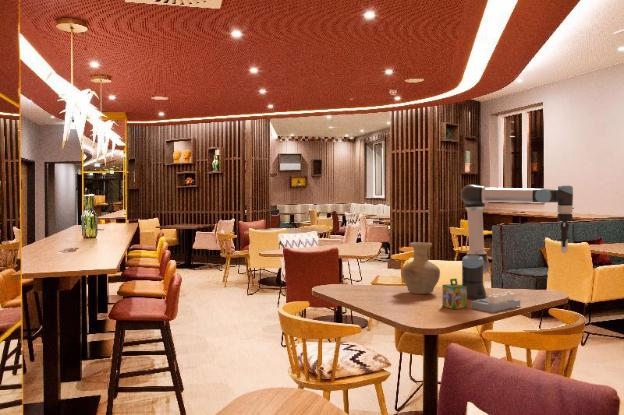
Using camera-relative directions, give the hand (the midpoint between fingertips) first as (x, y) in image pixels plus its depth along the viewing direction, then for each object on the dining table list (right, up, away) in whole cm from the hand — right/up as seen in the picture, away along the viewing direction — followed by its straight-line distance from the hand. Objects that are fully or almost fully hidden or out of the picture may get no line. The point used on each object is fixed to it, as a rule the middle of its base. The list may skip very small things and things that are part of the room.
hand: (564, 251), depth 293 cm
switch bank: (-44, -28, -17) cm, 55 cm away
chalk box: (-65, -28, -17) cm, 73 cm away
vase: (-75, -27, +22) cm, 83 cm away
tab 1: (-48, -26, -24) cm, 59 cm away
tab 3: (-36, -26, -16) cm, 47 cm away
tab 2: (-42, -26, -20) cm, 53 cm away
